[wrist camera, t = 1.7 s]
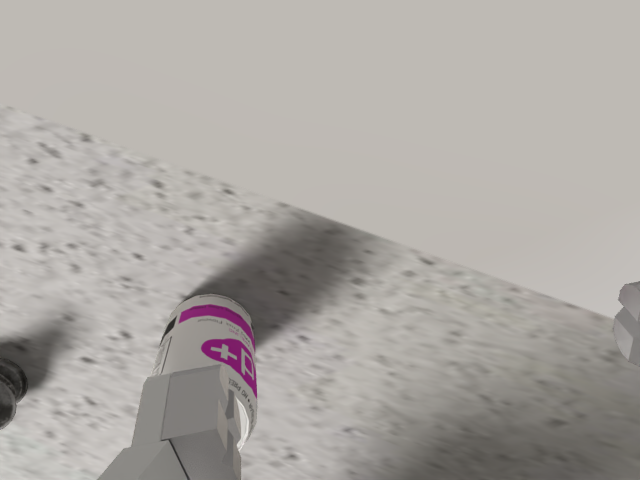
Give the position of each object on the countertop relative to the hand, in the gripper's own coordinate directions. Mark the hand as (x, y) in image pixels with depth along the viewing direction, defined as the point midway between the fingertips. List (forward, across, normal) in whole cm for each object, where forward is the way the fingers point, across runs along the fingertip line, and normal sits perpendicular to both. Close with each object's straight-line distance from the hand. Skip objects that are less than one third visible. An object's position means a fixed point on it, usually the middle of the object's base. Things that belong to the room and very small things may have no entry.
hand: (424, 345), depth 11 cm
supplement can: (+32, -13, -26) cm, 44 cm away
